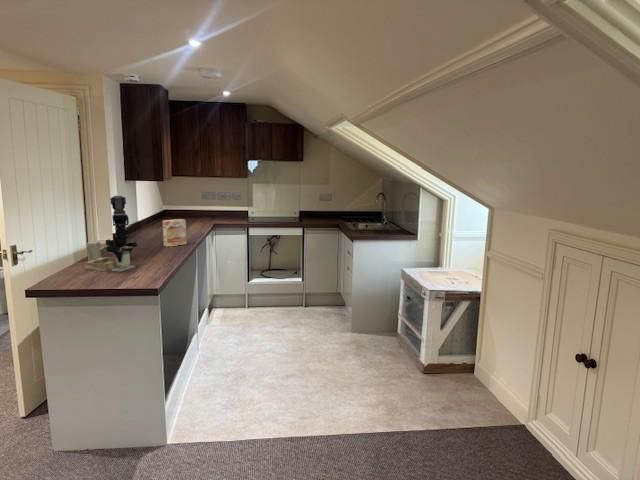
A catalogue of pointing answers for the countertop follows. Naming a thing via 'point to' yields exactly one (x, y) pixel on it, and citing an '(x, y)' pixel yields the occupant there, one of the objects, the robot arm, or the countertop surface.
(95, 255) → the skincare box
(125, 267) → the grey mat
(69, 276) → the countertop surface
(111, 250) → the robot arm
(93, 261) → the wooden frame
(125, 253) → the sage box
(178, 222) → the coffeecake box
